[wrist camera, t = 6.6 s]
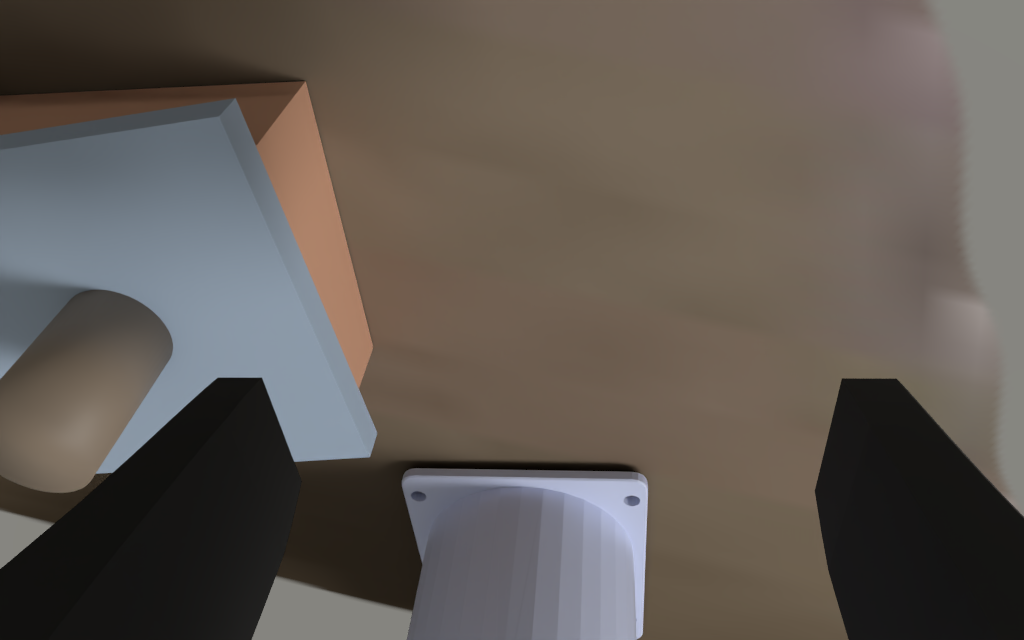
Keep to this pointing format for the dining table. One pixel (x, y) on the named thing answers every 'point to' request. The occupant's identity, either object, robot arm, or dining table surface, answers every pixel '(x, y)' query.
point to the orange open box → (287, 159)
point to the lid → (153, 295)
